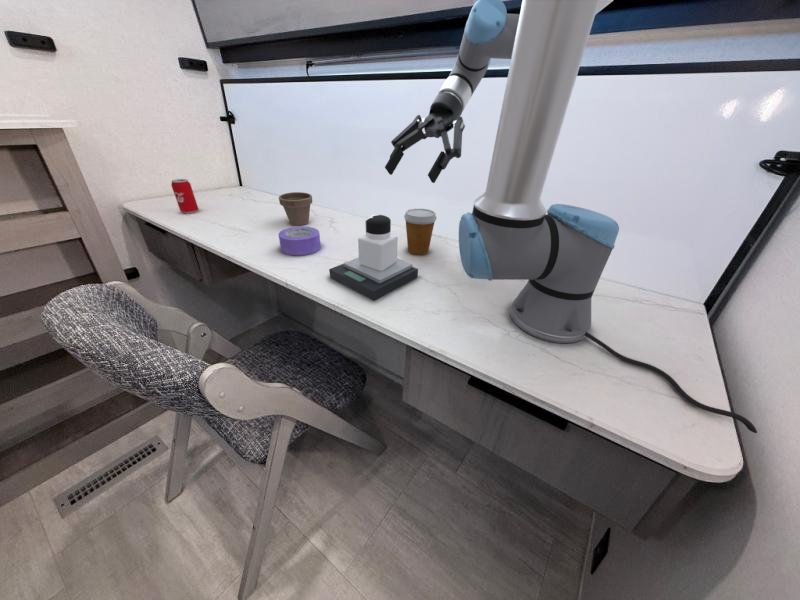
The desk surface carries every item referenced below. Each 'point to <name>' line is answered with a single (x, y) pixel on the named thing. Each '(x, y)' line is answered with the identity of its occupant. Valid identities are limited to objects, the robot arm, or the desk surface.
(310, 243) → the tape roll
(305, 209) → the flower pot
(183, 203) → the beverage can
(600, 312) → the desk surface
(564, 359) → the desk surface
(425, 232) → the disposable coffee cup
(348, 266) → the scale
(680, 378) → the desk surface
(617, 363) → the desk surface
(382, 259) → the medicine bottle
